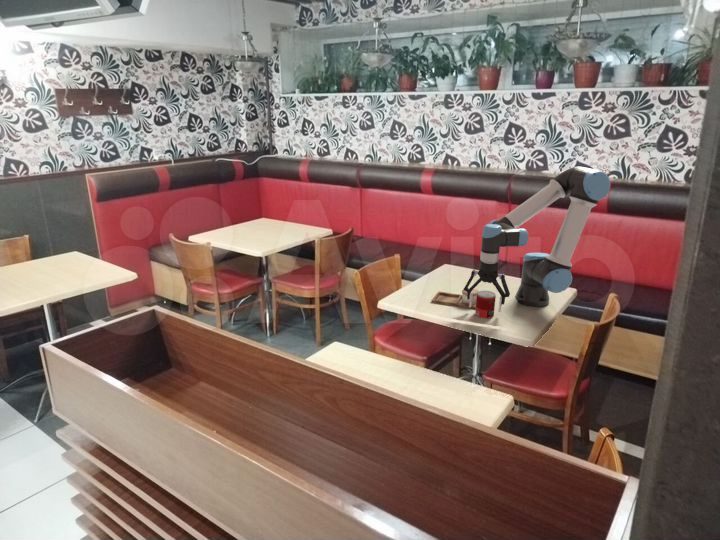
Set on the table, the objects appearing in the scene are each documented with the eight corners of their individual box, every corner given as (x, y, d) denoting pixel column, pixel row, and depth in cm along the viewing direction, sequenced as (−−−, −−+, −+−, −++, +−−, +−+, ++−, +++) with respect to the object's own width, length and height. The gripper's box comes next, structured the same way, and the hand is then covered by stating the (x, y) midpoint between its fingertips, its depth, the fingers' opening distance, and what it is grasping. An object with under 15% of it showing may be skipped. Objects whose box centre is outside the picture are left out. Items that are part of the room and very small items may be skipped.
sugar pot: (479, 301, 248) (480, 286, 245) (476, 307, 241) (477, 292, 239) (463, 299, 250) (464, 284, 248) (459, 304, 244) (460, 289, 241)
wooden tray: (484, 303, 249) (484, 298, 248) (479, 312, 239) (479, 307, 238) (438, 296, 257) (438, 291, 256) (431, 304, 247) (431, 299, 246)
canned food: (490, 322, 229) (492, 298, 225) (472, 318, 233) (474, 294, 229) (496, 316, 235) (498, 292, 231) (478, 312, 239) (480, 289, 235)
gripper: (520, 262, 224) (514, 309, 231) (462, 255, 233) (459, 301, 240) (517, 267, 218) (512, 316, 225) (458, 259, 227) (455, 307, 233)
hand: (484, 308), depth 232 cm, fingers open, 12 cm apart
